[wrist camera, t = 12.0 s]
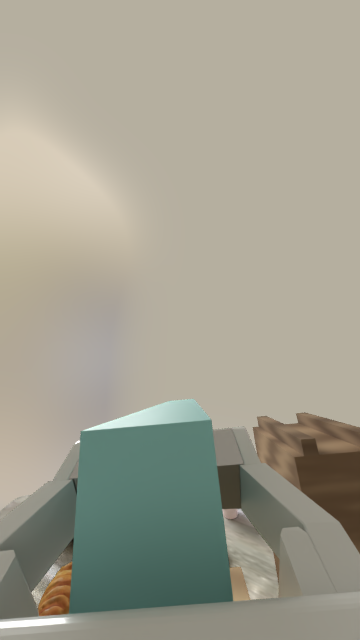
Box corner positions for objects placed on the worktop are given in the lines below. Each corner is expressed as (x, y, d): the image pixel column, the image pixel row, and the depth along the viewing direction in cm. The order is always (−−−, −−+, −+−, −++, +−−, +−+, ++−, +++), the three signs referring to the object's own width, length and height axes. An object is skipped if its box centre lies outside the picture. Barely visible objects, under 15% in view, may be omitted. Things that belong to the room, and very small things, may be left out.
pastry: (67, 641, 30) (68, 606, 32) (18, 649, 30) (21, 613, 31) (90, 582, 39) (91, 556, 40) (53, 587, 39) (54, 561, 40)
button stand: (547, 890, 14) (394, 431, 22) (386, 901, 14) (290, 440, 22) (370, 639, 27) (314, 411, 35) (289, 646, 27) (251, 417, 35)
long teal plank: (233, 602, 4) (211, 419, 6) (68, 616, 4) (81, 431, 6) (196, 426, 29) (193, 398, 30) (171, 428, 29) (169, 401, 30)
